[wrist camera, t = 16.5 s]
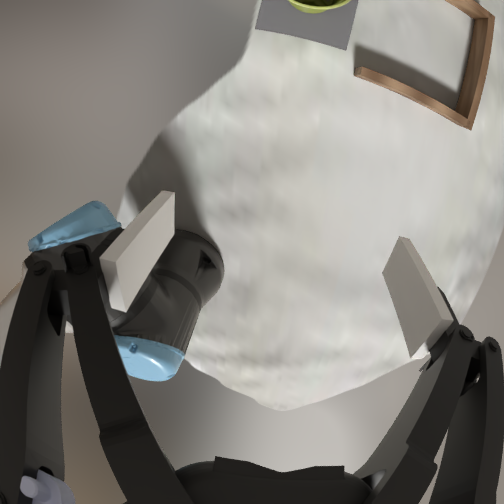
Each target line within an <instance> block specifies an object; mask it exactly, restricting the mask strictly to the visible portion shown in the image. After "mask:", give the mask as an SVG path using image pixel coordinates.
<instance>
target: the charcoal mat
mask: <svg viewBox="0 0 504 504" xmlns="http://www.w3.org/2000/svg"><path fill="white" fill-rule="evenodd" d="M328 1H329V0H327V2H328ZM357 4H358V0H351V1H350V2H348V3H347V4H345V5H343V6H341V7H338V8H333V9H328V10H326V11H324V12H321V13H315V14H312V13H305V12H302V11H300V10H298V9H296V8H295V7H294V6H292V5H291V4H290V2H289V1H288V0H262V3H261V7H260V11H259V15H258V19H257V23H256V27H255V29H259V30H265V31H271V32H276V33H281V34H286V35H291V36H295V37H300V38H304V39H308V40H312V41H316V42H319V43H323V44H326V45H330V46H333V47H336V48H339V49H343V50H346V49H347V45H348V41H349V37H350V33H351V29H352V25H353V21H354V17H355V12H356V8H357Z"/></svg>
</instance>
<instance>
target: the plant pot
mask: <svg viewBox="0 0 504 504" xmlns="http://www.w3.org/2000/svg"><path fill="white" fill-rule="evenodd" d="M288 1H289V2H290V4H291V5H292V6H294V7H295V8H296V9H298V10H300V11H302V12H305V13H312V14H315V13H321V12H324V11H326V10H328V9H333V8H338V7H341V6H343V5H345V4H347V3H348V2H350V1H351V0H329V1H328V2H327V0H288Z"/></svg>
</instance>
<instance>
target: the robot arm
mask: <svg viewBox="0 0 504 504" xmlns="http://www.w3.org/2000/svg"><path fill="white" fill-rule="evenodd" d="M174 206H175V192H170V191H163V190H162V191H161V192H160V193H159V194H158V195H157V196H156V197H155V198H154V199H153V200H152V201H151V202H150V203H149V204H148V205H147V206H146V207H145V208H144V209H143V210H142V211H141V212H140V214H139V215H138V216H137V217H136V218H135V219H134V220H133V221H132V222H131V223H130V224H129V225H128V226H127V227H126V228H125V229H122V228H121V223H120V222H117V220H116V219H115V218H114V216H113V215H112V213H111V212H110V211H109V209H108V208H107V206H106V205H105V204H104V203H102V202H100V201H91V202H89V203H87V204H85V205H83V206H82V207H80V208H78V209H77V210H75V211H73V212H72V213H70V214H69V215H67V216H65V217H63V218H62V219H60V220H59V221H57V222H56V223H54V224H53V225H51V226H49V227H48V228H47V229H45V230H44V231H42V232H41V233H39V234H38V235H36V236H35V237H33V238H32V239H31V240H29V242H28V246H29V251H32V253H31V255H30V256H28V258H26V259H25V260H24V261H23V263H22V277H21V280H20V282H19V283H18V284H17V285H16V286H15V287H14V288H13V289H12V290H11V291H10V292H9V293H8V295H7V296H6V297H5V298H4V299H3V300H2V301H1V302H0V504H75V498H74V495H73V492H72V490H71V489H70V488H69V487H68V485H66V483H65V482H64V467H65V466H64V452H63V441H62V424H61V377H62V359H63V346H64V336H65V333H74V338H75V343H76V348H77V353H78V357H79V362H80V366H81V370H82V374H83V377H84V381H85V385H86V389H87V392H88V395H89V398H90V402H91V405H92V408H93V411H94V414H95V417H96V420H97V423H98V426H99V429H100V435H99V438H100V442H101V445H102V447H103V450H104V453H105V455H106V458H107V460H108V462H109V464H110V467H111V469H112V471H113V473H114V475H115V477H116V480H117V481H118V484H119V486H120V488H121V490H122V491H123V493H124V495H125V497H126V499H127V502H125V503H123V504H418V503H419V502H420V500H421V498H422V497H423V495H424V493H425V492H426V490H427V488H428V486H429V485H430V483H431V481H432V479H433V477H434V475H435V473H436V471H437V464H436V463H434V458H435V456H436V454H437V452H438V450H439V447H440V445H441V443H442V441H443V439H444V436H445V434H446V432H447V429H448V434H447V439H446V444H445V448H444V453H443V457H442V461H441V465H440V469H439V472H438V476H437V479H436V483H435V486H434V489H433V492H432V495H431V499H430V502H429V504H496V490H497V486H498V480H499V474H500V468H501V460H502V452H503V442H504V375H503V363H502V354H501V349H500V346H499V344H498V342H497V341H496V340H495V339H493V338H492V337H486V338H485V340H484V341H483V342H482V343H481V342H479V341H476V340H475V339H474V336H473V334H472V332H471V331H470V330H469V329H468V328H467V327H465V326H463V325H459V323H458V321H457V318H456V316H455V314H454V312H453V310H452V308H451V307H450V304H449V302H448V300H447V298H446V296H445V294H444V293H443V292H442V291H441V289H440V288H439V287H437V286H436V284H435V282H434V280H433V278H432V276H431V275H430V273H429V271H428V269H427V268H426V266H425V264H424V262H423V261H422V259H421V257H420V255H419V254H418V252H417V250H416V249H415V247H414V246H413V244H412V242H411V241H410V239H408V238H404V237H400V236H399V238H398V240H397V242H396V245H395V247H394V249H393V251H392V253H391V256H390V258H389V260H388V262H387V264H386V266H385V268H384V270H383V272H382V274H383V276H384V279H385V282H386V284H387V287H388V290H389V292H390V295H391V298H392V301H393V304H394V307H395V309H396V312H397V315H398V318H399V322H400V325H401V328H402V331H403V334H404V337H405V341H406V344H407V348H408V351H409V355H410V358H411V359H423V358H424V356H425V355H426V354H427V353H428V352H429V351H430V354H431V358H430V359H429V360H428V361H427V362H426V363H425V364H424V365H423V366H422V368H421V369H420V370H419V371H422V370H423V371H422V374H421V375H420V377H419V379H418V381H417V383H416V385H415V387H414V389H413V391H412V393H411V394H410V396H409V398H408V400H407V401H406V403H405V405H404V407H403V408H402V410H401V412H400V413H399V415H398V417H397V418H396V420H395V421H394V423H393V425H392V426H391V428H390V429H389V431H388V432H387V434H386V435H385V437H384V438H383V440H382V441H381V443H380V444H379V446H378V447H377V448H376V450H375V451H374V453H373V454H372V455H371V457H370V458H369V460H368V461H367V462H366V463H365V464H364V465H363V466H362V467H361V468H360V469H359V470H358V471H356V472H355V473H354V474H353V475H352V474H350V473H347V472H344V466H314V467H310V468H305V469H301V470H295V471H289V472H277V471H275V470H271V469H268V468H265V467H262V466H260V465H256V464H254V463H251V462H248V461H241V460H234V459H228V458H222V457H217V456H215V461H206V462H198V463H194V464H190V465H187V466H185V467H182V468H180V469H179V470H176V471H175V470H174V468H173V466H172V465H171V463H170V461H169V459H168V458H167V457H166V454H165V452H164V451H163V449H162V447H161V445H160V443H159V441H158V440H157V438H156V436H155V434H154V432H153V430H152V428H151V426H150V424H149V422H148V420H147V418H146V415H145V413H144V411H143V409H142V407H141V404H140V402H139V400H138V398H137V396H136V393H135V391H134V388H133V386H132V383H131V381H130V379H129V376H128V375H131V376H134V377H137V378H140V379H145V380H149V381H164V380H168V379H170V378H172V377H173V376H174V375H175V374H176V372H177V370H178V368H179V366H180V364H181V361H182V360H183V359H184V356H185V353H186V350H187V347H188V344H189V341H190V339H191V336H192V333H193V330H194V327H195V324H196V321H197V319H198V316H199V313H200V310H201V308H202V307H203V306H204V305H205V304H206V303H207V302H208V301H209V300H210V299H211V298H212V297H213V296H214V295H215V294H216V293H217V291H218V290H219V288H220V286H221V283H222V280H223V277H224V266H223V262H222V260H221V257H220V255H219V254H218V252H217V251H216V250H215V248H214V247H213V246H212V245H211V244H210V243H209V242H207V241H206V240H205V239H203V238H202V237H200V236H198V235H196V234H193V233H191V232H187V231H182V230H174ZM479 376H480V377H479ZM478 377H479V380H478V382H477V383H476V381H477V380H476V379H477V378H478ZM448 427H449V428H448Z"/></svg>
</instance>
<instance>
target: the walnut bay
mask: <svg viewBox="0 0 504 504" xmlns="http://www.w3.org/2000/svg"><path fill="white" fill-rule="evenodd" d="M445 1H447V2H449V3H450V4H452V5H453V6H455V7H457V8H458V9H460V10H461V11H463V12H464V13H466V14H467V15H468V16H470V17H471V18H473V19H474V20H475V21H474V29H473V36H472V42H471V48H470V53H469V58H468V63H467V67H466V72H465V76H464V80H463V84H462V88H461V92H460V96H459V99H458V103H457V106H456V109H455V111H454V110H452V109H450V108H449V107H447V106H445V105H444V104H442V103H440V102H438V101H437V100H435V99H433V98H431V97H429V96H427V95H425V94H423V93H422V92H420V91H418V90H416V89H414V88H412V87H410V86H407V85H405V84H403V83H401V82H399V81H397V80H394V79H392V78H390V77H387V76H385V75H383V74H380V73H378V72H375V71H373V70H370V69H368V68H365V67H358V68H356V69H355V73H354V76H356V77H359V78H361V79H364V80H367V81H369V82H372V83H374V84H377V85H379V86H382V87H384V88H387V89H389V90H391V91H394V92H396V93H398V94H400V95H402V96H405V97H407V98H409V99H411V100H413V101H415V102H417V103H419V104H421V105H423V106H425V107H427V108H429V109H431V110H433V111H434V112H436V113H438V114H440V115H442V116H443V117H445V118H447V119H449V120H450V121H452V122H454V123H455V124H457V125H459V126H462V127H464V128H466V129H469V130H471V129H472V126H473V123H474V120H475V117H476V113H477V110H478V106H479V103H480V99H481V95H482V91H483V87H484V83H485V79H486V74H487V69H488V64H489V59H490V53H491V47H492V39H493V31H494V22H495V16H493V15H492V14H491V13H490V12H488V11H487V10H486V9H485V8H483V7H482V6H481V5H479V4H478V3H477V2H475V1H474V0H445Z"/></svg>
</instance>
